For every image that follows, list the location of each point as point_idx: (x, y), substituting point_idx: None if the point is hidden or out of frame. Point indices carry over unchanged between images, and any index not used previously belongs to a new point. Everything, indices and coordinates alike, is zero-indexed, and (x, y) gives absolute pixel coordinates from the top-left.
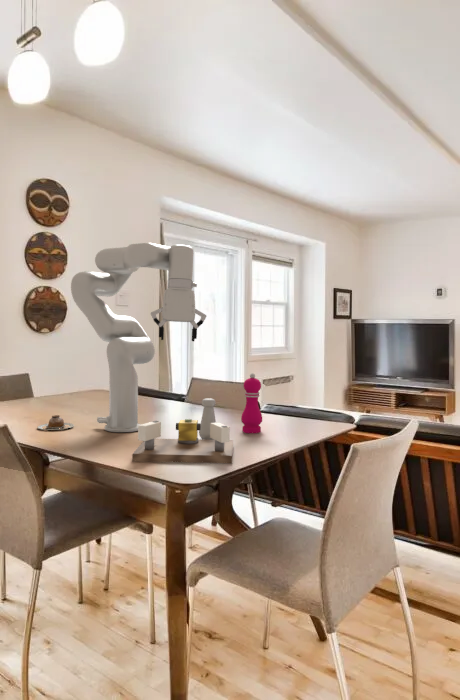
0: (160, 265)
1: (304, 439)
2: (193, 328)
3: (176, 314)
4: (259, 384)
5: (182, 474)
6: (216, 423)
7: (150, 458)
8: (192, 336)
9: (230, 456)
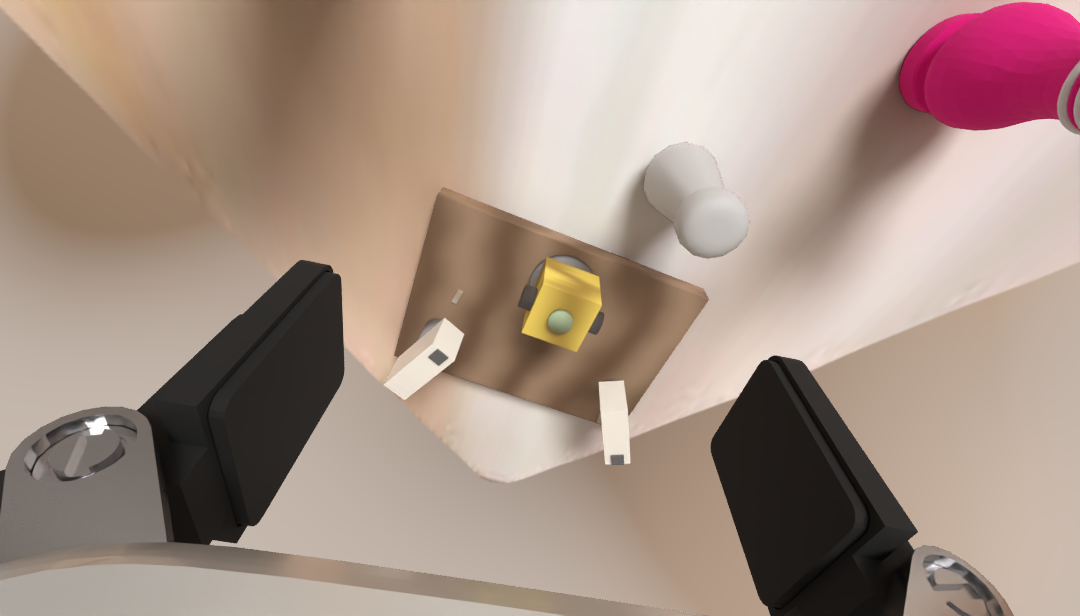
0: None
1: (1002, 266)
2: (801, 605)
3: None
4: None
5: (494, 444)
6: (615, 421)
7: None
8: (727, 493)
9: None
